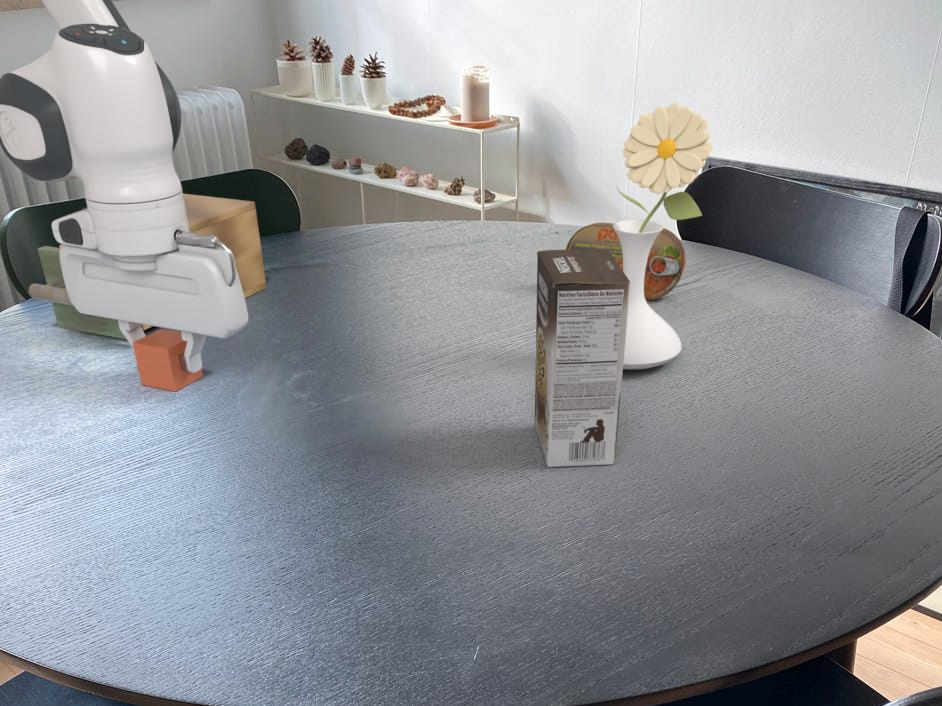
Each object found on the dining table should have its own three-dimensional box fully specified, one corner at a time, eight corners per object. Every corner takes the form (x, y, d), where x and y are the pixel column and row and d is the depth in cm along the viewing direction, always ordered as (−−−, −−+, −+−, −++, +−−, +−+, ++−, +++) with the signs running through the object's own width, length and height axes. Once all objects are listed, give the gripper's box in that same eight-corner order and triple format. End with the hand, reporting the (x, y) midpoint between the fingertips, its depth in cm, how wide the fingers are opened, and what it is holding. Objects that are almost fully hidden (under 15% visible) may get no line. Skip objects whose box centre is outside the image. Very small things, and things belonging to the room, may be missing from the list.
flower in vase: (552, 361, 106) (562, 101, 91) (615, 333, 113) (634, 87, 98) (652, 393, 99) (680, 116, 84) (713, 361, 106) (749, 100, 91)
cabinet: (195, 323, 117) (178, 229, 111) (114, 309, 122) (93, 218, 116) (266, 288, 128) (255, 201, 122) (189, 276, 132) (174, 192, 126)
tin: (562, 291, 126) (565, 221, 121) (569, 284, 128) (572, 215, 123) (678, 304, 121) (686, 232, 116) (683, 296, 124) (691, 226, 119)
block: (175, 392, 101) (166, 349, 98) (141, 385, 102) (131, 342, 99) (203, 376, 104) (195, 334, 101) (169, 370, 105) (161, 328, 103)
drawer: (105, 354, 107) (85, 271, 102) (28, 339, 111) (4, 259, 106) (210, 305, 120) (196, 229, 115) (137, 293, 124) (121, 219, 119)
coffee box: (531, 425, 93) (535, 249, 84) (598, 422, 94) (610, 246, 84) (544, 469, 86) (550, 281, 76) (617, 465, 86) (632, 278, 77)
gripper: (249, 229, 92) (269, 370, 101) (84, 208, 100) (115, 341, 108) (207, 246, 88) (232, 393, 96) (37, 222, 95) (73, 361, 103)
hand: (169, 365), depth 102 cm, fingers closed on block, 4 cm apart
